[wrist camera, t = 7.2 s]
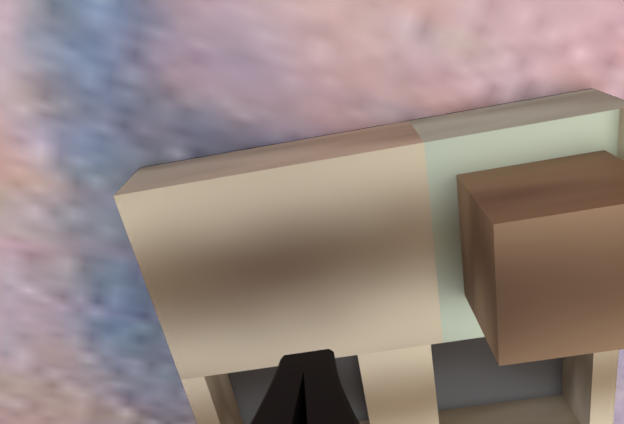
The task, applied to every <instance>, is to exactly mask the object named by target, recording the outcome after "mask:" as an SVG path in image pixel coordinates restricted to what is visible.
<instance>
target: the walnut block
mask: <svg viewBox="0 0 624 424" xmlns="http://www.w3.org/2000/svg"><path fill="white" fill-rule="evenodd" d="M456 179H457V194H458V208H459V222H460V236H461V251H462V265H463V279H464V293H465V297H466V299H467V301H468V303H469V305H470V307H471V309H472V311H473V313H474V315H475V317H476V319H477V322H478V324H479V326H480V328H481V330H482V332H483V334H484V336H485V338H486V340H487V342H488V344H489V346H490V348H491V350H492V352H493V355H494V357H495V359H496V361H497V363H498V365H499V366H503V365H510V364H518V363H525V362H532V361H540V360H547V359H554V358H562V357H569V356H576V355H583V354H591V353H598V352H605V351H613V350H620V349H624V161H623V160H621V159H620V158H618V157H616V156H614V155H612V154H611V153H609V152H607V151H605V150H602V151H596V152H590V153H584V154H578V155H572V156H566V157H560V158H554V159H548V160H542V161H536V162H530V163H524V164H518V165H512V166H506V167H500V168H494V169H488V170H482V171H476V172H470V173H464V174H458V175H456Z"/></svg>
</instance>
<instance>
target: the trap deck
mask: <svg viewBox="0 0 624 424" xmlns="http://www.w3.org/2000/svg"><path fill="white" fill-rule="evenodd" d="M602 150H605V151H607V152H609V153H611V154H612V155H614V156H616V157H618V158H620V159H621V160H623V161H624V100H622V99H620V98H617V97H614V96H612V95H609V94H606V93H603V92H601V91H598V90H595V89H587V90H581V91H576V92H570V93H564V94H559V95H553V96H547V97H542V98H536V99H530V100H524V101H519V102H513V103H507V104H502V105H496V106H490V107H485V108H479V109H473V110H468V111H462V112H456V113H450V114H445V115H439V116H433V117H428V118H422V119H416V120H411V121H405V122H399V123H394V124H388V125H382V126H376V127H371V128H365V129H359V130H354V131H348V132H342V133H337V134H331V135H325V136H320V137H314V138H308V139H302V140H297V141H291V142H285V143H280V144H274V145H268V146H263V147H257V148H251V149H246V150H240V151H234V152H228V153H223V154H217V155H211V156H206V157H200V158H194V159H189V160H183V161H177V162H172V163H166V164H160V165H154V166H149V167H143V168H139V169H138V171H137V172H136V173H135V174H134V175H133V176H132V177H131V178H130V179H129V180H128V181H127V182H126V183H125V184H124V185H123V186H122V187H121V188H120V189H119V190H118V191H117V192H116V194H115V195H114V196H113V197H114V200H115V202H116V205H117V208H118V210H119V213H120V216H121V219H122V221H123V224H124V227H125V229H126V232H127V235H128V238H129V240H130V243H131V246H132V248H133V251H134V254H135V256H136V259H137V262H138V265H139V267H140V270H141V273H142V275H143V278H144V281H145V284H146V286H147V289H148V292H149V294H150V297H151V300H152V303H153V305H154V308H155V311H156V313H157V316H158V319H159V321H160V324H161V327H162V330H163V332H164V335H165V338H166V340H167V343H168V346H169V349H170V351H171V354H172V357H173V359H174V362H175V365H176V367H177V370H178V373H179V376H180V378H181V381H182V384H183V386H184V389H185V392H186V395H187V397H188V400H189V403H190V405H191V408H192V411H193V414H194V416H195V419H196V422H197V424H250V423H251V421H252V419H253V418H254V416H255V414H256V412H257V410H258V408H259V406H260V404H261V402H262V400H263V398H264V396H265V394H266V392H267V390H268V388H269V386H270V384H271V381H272V379H273V377H274V374H275V372H276V370H277V367H278V365H279V362H280V359H281V358H282V357H283V356H284V355H289V354H296V353H303V352H310V351H317V350H324V349H330V350H332V351H333V352H334V355H335V360H336V365H337V370H338V375H339V379H340V382H341V385H342V387H343V390H344V392H345V394H346V397H347V399H348V401H349V403H350V405H351V408H352V410H353V412H354V414H355V416H356V418H357V419H358V421H359V423H360V424H613V416H614V404H615V391H616V379H617V367H618V355H619V350H613V351H605V352H598V353H591V354H583V355H576V356H569V357H562V358H554V359H547V360H540V361H532V362H525V363H518V364H510V365H503V366H499V365H498V363H497V361H496V359H495V357H494V355H493V352H492V350H491V348H490V346H489V344H488V342H487V340H486V338H485V336H484V334H483V332H482V330H481V328H480V326H479V324H478V322H477V319H476V317H475V315H474V313H473V311H472V309H471V307H470V305H469V303H468V301H467V299H466V297H465V293H464V279H463V265H462V251H461V236H460V222H459V208H458V194H457V179H456V175H458V174H464V173H470V172H476V171H482V170H488V169H494V168H500V167H506V166H512V165H518V164H524V163H530V162H536V161H542V160H548V159H554V158H560V157H566V156H572V155H578V154H584V153H590V152H596V151H602Z"/></svg>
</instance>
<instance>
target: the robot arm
mask: <svg viewBox="0 0 624 424" xmlns="http://www.w3.org/2000/svg"><path fill="white" fill-rule="evenodd" d="M250 424H360V423H359V421H358V419H357V418H356V416H355V414H354V412H353V410H352V408H351V405H350V403H349V401H348V399H347V397H346V394H345V392H344V390H343V387H342V385H341V382H340V379H339V375H338V370H337V365H336V360H335V355H334V352H333V351H332V350H330V349H324V350H317V351H310V352H303V353H296V354H289V355H284V356H283V357H282V358H281V359H280V362H279V365H278V367H277V370H276V372H275V374H274V377H273V379H272V381H271V384H270V386H269V388H268V390H267V392H266V394H265V396H264V398H263V400H262V402H261V404H260V406H259V408H258V410H257V412H256V414H255V416H254V418H253V419H252V421H251V423H250Z"/></svg>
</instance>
